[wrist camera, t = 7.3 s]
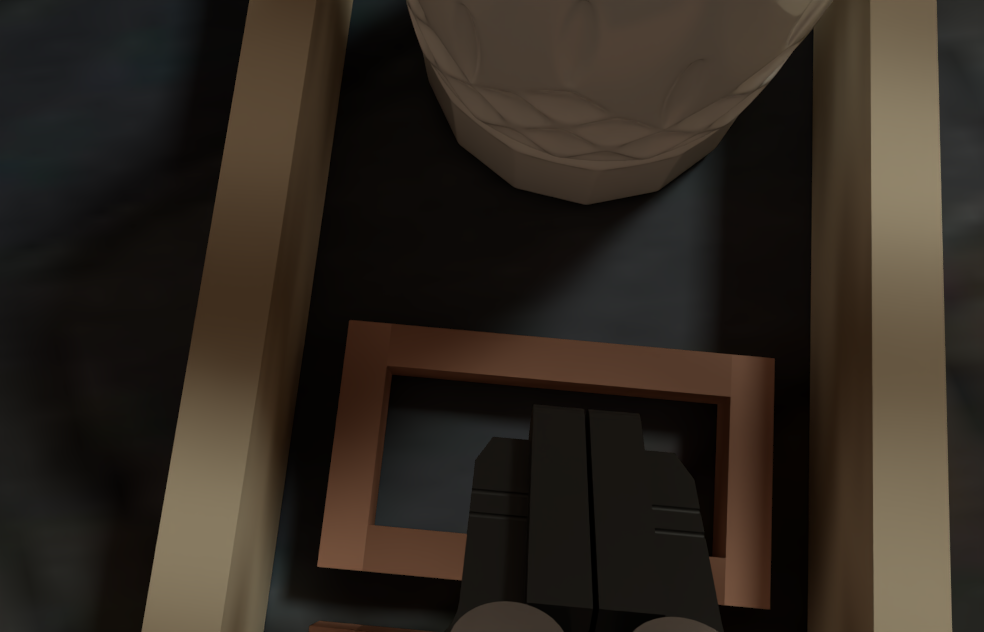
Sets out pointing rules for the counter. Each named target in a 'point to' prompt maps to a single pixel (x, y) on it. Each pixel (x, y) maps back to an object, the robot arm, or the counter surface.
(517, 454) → the robot arm
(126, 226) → the counter surface
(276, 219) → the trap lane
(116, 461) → the counter surface
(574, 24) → the white cup
